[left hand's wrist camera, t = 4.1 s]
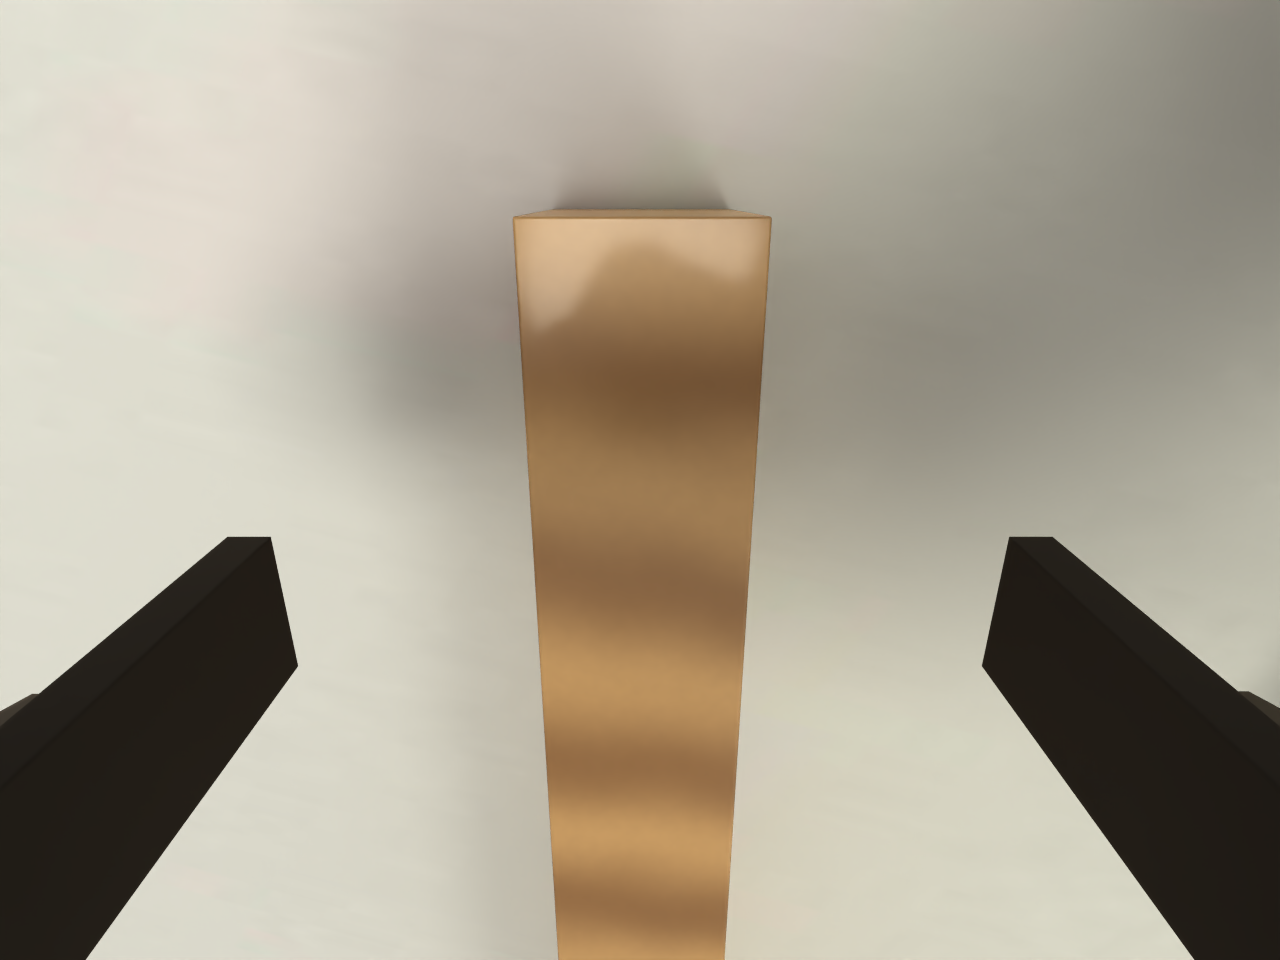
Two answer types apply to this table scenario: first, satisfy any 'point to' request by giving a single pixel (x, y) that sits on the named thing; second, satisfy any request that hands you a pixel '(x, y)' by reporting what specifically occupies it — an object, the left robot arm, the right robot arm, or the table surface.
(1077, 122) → the table surface
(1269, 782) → the left robot arm
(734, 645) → the bar
